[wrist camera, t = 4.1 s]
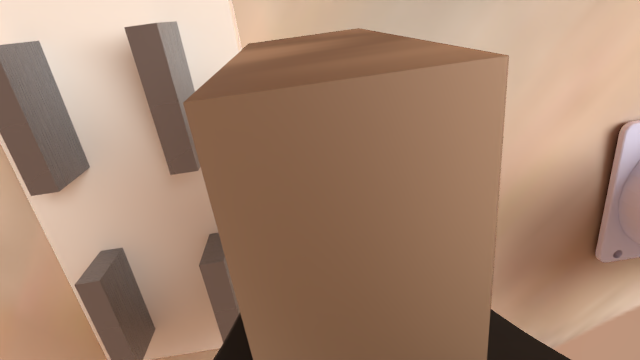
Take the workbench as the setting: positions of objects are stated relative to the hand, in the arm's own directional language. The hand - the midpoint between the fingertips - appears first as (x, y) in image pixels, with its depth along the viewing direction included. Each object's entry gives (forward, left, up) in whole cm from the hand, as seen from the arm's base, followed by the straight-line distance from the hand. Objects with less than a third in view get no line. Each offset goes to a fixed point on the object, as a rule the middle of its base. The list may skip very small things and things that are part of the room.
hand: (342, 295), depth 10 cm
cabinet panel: (+7, 0, -9) cm, 12 cm away
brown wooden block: (0, 0, -3) cm, 3 cm away
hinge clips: (+7, 0, -8) cm, 11 cm away
